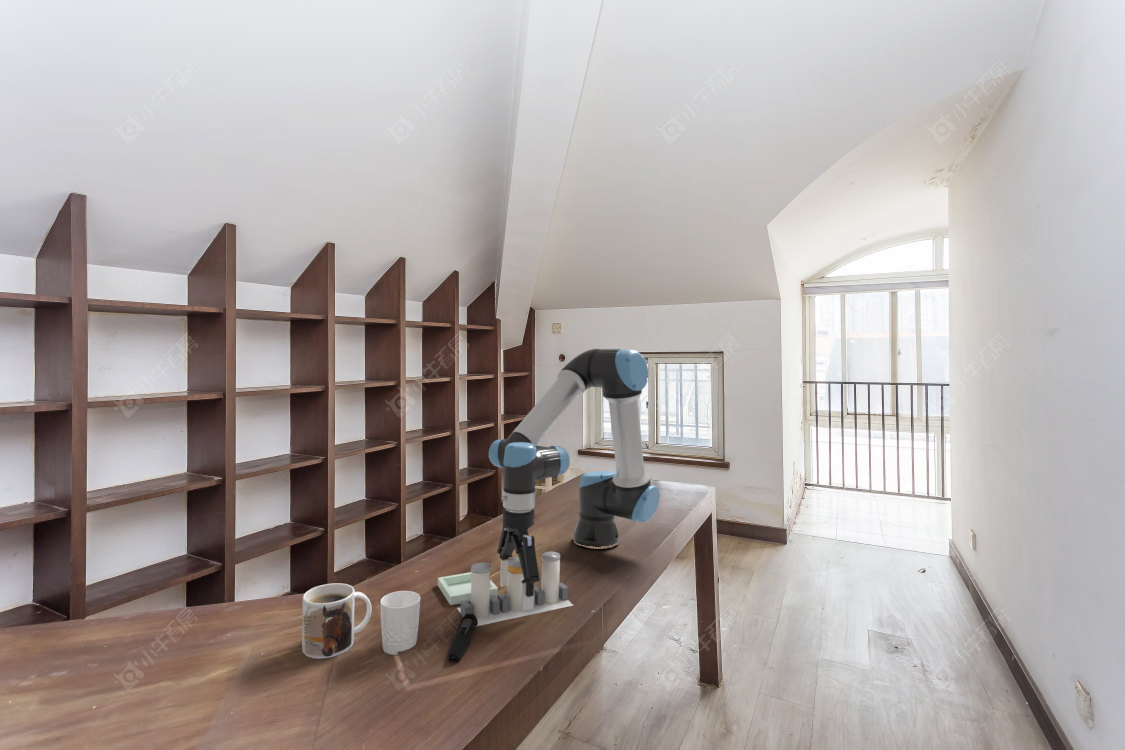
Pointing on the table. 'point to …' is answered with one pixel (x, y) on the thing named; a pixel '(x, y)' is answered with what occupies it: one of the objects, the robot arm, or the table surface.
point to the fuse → (480, 589)
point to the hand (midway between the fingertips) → (516, 596)
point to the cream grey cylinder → (550, 577)
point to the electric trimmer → (462, 637)
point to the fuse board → (502, 612)
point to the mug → (330, 620)
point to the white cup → (399, 621)
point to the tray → (460, 588)
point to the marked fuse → (514, 584)
